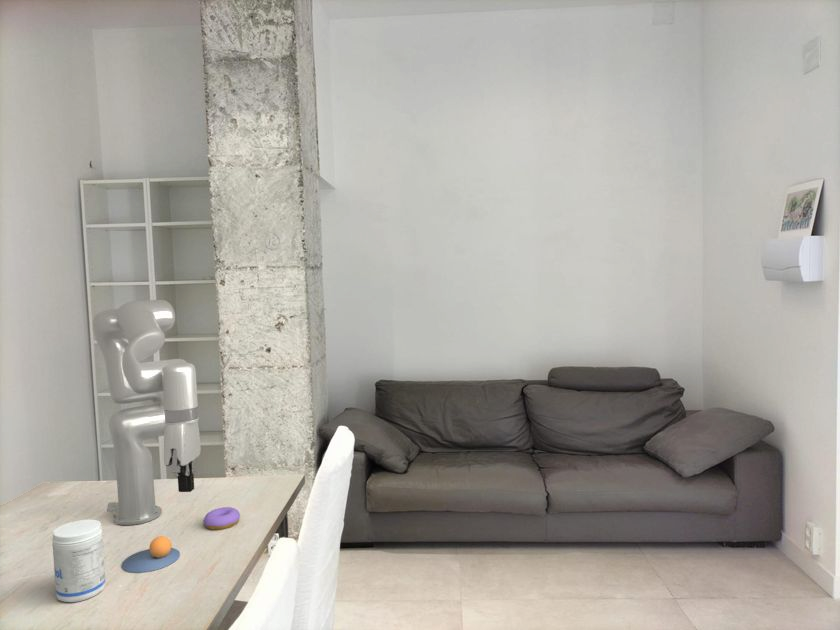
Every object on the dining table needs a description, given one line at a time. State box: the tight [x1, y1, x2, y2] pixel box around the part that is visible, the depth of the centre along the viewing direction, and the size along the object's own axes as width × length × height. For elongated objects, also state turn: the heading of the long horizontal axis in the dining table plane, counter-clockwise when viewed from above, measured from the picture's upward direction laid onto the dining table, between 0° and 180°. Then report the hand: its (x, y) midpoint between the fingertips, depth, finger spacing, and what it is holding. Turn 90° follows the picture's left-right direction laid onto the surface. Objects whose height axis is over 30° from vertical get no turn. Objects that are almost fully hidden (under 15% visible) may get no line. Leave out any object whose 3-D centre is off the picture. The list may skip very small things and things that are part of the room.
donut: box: [203, 506, 241, 531], centre depth 172 cm, size 10×9×5 cm
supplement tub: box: [51, 519, 106, 603], centre depth 136 cm, size 10×10×15 cm
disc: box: [121, 547, 181, 574], centre depth 151 cm, size 13×13×1 cm
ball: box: [148, 535, 172, 558], centre depth 152 cm, size 5×5×5 cm
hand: (186, 490), depth 149 cm, fingers closed
